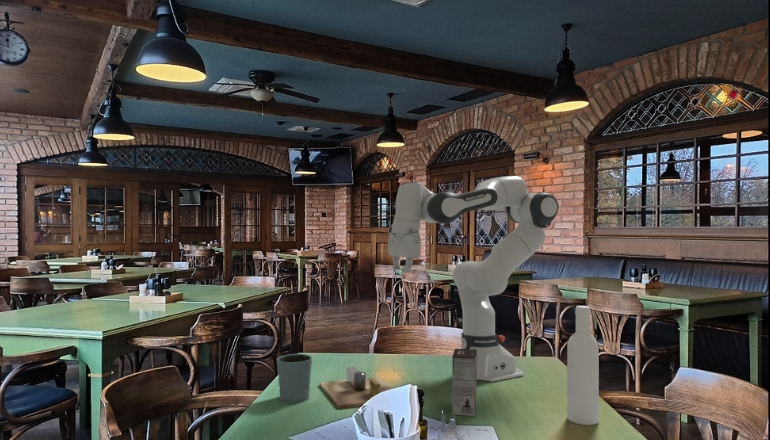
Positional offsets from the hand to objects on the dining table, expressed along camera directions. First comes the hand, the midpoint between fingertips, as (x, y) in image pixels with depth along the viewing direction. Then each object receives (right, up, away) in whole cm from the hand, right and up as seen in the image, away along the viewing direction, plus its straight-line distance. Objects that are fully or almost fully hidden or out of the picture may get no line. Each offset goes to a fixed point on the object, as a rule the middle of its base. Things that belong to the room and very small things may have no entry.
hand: (401, 271), depth 172 cm
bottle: (+47, -36, -34) cm, 68 cm away
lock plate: (-13, -36, -12) cm, 40 cm away
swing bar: (-15, -35, -8) cm, 39 cm away
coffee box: (+17, -36, -27) cm, 48 cm away
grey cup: (-32, -36, -18) cm, 52 cm away
